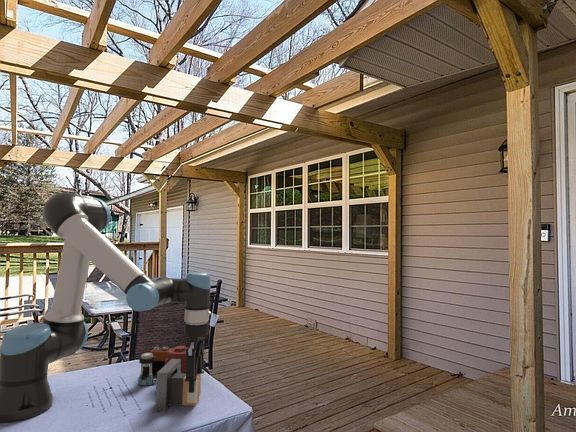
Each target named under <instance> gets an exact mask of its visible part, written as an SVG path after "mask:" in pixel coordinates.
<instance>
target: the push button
mask: <svg viewBox="0 0 576 432" xmlns="http://www.w3.org/2000/svg"><path fill="white" fill-rule="evenodd" d="M154 358H155V356H153V355H152V353H150V352H145V353H142V354H141V355H140V356H139V357H138V361H139V364H140V374H139V376H138V378H137V385H139V386H141V385H142V386H151V385H152V384H155V383H156V384H157V378H155V376H154V375H152V362H154Z"/></svg>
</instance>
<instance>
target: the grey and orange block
mask: <svg viewBox="0 0 576 432" xmlns="http://www.w3.org/2000/svg"><path fill="white" fill-rule="evenodd" d="M185 379H186V373H172V374H171V385H170V406H192V407H193V406H194V407H195V406H197V404H198V402H199V401H200V400H199V399H200V396H199V382H200V374H197V377H196V380H197V402H196V403H187V390H188V381H185Z"/></svg>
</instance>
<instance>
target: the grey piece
mask: <svg viewBox="0 0 576 432" xmlns="http://www.w3.org/2000/svg"><path fill="white" fill-rule="evenodd" d="M180 372H181V359H171V360H170V361H169V362H168V363H167V364H166V365H165V366H164V367H163V368H162V369H161V370H160V371H158V372H157V376H156V379H157V380H156V382H157V383H156V386H155V387H156V388H155V389H156V390H155V391H156V392H155V408H154V409H155V412H163V413H165V412H167V411H168V409H169V408H170V406H171V405H170V385H171V374H172V373H180Z"/></svg>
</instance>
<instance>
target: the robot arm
mask: <svg viewBox="0 0 576 432" xmlns="http://www.w3.org/2000/svg"><path fill="white" fill-rule="evenodd" d="M42 215H43V219H44V222H45V224H46V225H47V227H49V229H50V230H51V231H52V232H53V233H54V234H55V235H57V237H59V239H61V240H62V239H64V240H63V241H64V242H63V248H62V251H61V257H60V260H59V267H58V273H57V277H56V282H55V288H54V291H53V292H54V293H53V298H52V303H51V307H50V311H48V312H47V313H46V314H45V315H44V316H43V321H42V323H41V322H39V323H38V322H36V323H30V324H25V325H24V324H23V325H19V326H16V327H13V328H11V329H10V330H7V331H6V332H5V333H4V334H3V336H2V338H1V344H0V423H9V422H18V421H22V420H26V419H30V418H33V417H35V416H38V415H41V414H43V413H44V412H46V411H48V410H49V409H50V408H51V407H52V406H53V401H54V397H53V393H52V390H51V386H50V384H49V380H48V372H49V364H51V363H54V362H57V361H59V360H61V359H64V358H67V357H70V356H72V355H73V354H75V353H77V352H79V351H80V350H82V348H83V347H84V346H85V344H86V342H87V340H88V338H89V328H88V326H87V324H86V322H85V316H84V314H83V313H82V312H81V311H82V303H83V300H84V294H85V290H86V289H85V288H86V285H87V280H88V273H89V269H90V265H91V264H93V265H94V266H95V267H96V268H97V269H99V271H100V272H101V273H102V274H104V275H105V276H106V277H107V278H108V279H109V280H110V281H111V282H112V283H113V284H115V286H116V287H117V288H119V289H120V290H121V291H122V292H123V293H124V294H125V295H126V297H125V298H126V302H127V306H128V307H129V308H130V309H131V310H133V311H135V312H144V311H151V310H153V309H154V308H156V307H159V306H163V305H166V304H168V303H179V304H180V303H182V304H184V318H183V319H184V320H183V321H184V322H185V324H184V325H183V335H184V337H187V338H189V341H188V344H187V347H188V348H187V349H186V379H185V381H188V390H187V403H196V402H197V380H196V377H197V374H200V382H199V397H201V395H202V394H201V393H202V375H204V374H205V370H204V361H205V359H204V358H205V357H204V356H205V344H206V343H205V342H206V338H205V337H206V336H208V335H209V333H210V323H209V321H210V316H211V315H212V312H211V311H210V304H211V303H210V301H211V298H210V297H211V275H210V274H209V273H207V272H200V271H198V272H197V271H196V272H188V273H186V276H185V278H175V277H174V278H173V277H171V278H169V277H163V276H162V277H154V278H150V277H149V276H148V275H147V274H146V273H144V272H143V270H142V269H140V268H139V267H138V266H137V265H136V264H135V263H134V262H133V261H132V260H131V259H129V258H128V257H127V256H126V255H125V254H124V253H123V252H122V251H121V250H120V249H119V248H118V247H116V245H115V244H114V243H113V242H111V241H110V240H109V239H108V238H106V236H105V235H104V234H102V233H101V232H102V231H103V230H105V228H107V227H108V226H109V224H110V222H111V210H110V208H109V206H108V204H107V203H106V202H105V201H103V200H102V199H100V198H99V197H98V198H97V197H95V196H92V195H91V196H89V195H83V194H78V193H74V192H73V193H72V192H60V193H56V194H54V195H52V196H51V197H49V198H48V199H47V200H46V202H45V204H44V206H43V211H42ZM197 403H198V402H197Z"/></svg>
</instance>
